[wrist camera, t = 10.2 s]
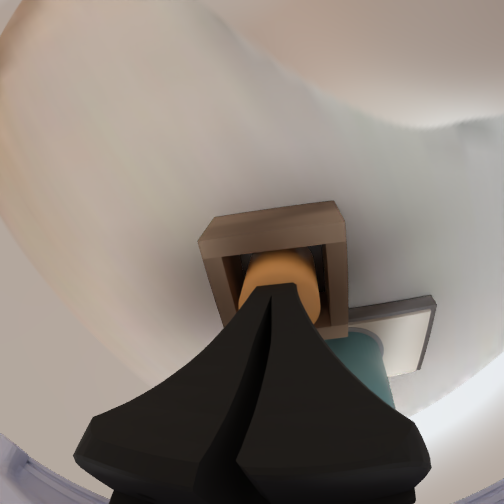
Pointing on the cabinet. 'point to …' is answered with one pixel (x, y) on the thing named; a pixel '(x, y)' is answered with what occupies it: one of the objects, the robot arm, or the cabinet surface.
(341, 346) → the cylinder
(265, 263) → the button
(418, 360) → the drawing pad
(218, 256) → the button collar
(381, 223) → the cabinet surface
